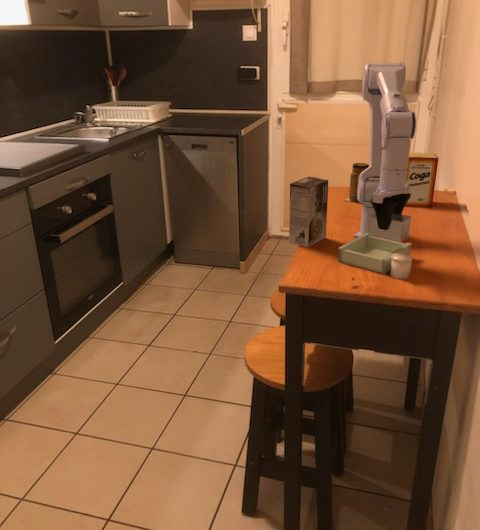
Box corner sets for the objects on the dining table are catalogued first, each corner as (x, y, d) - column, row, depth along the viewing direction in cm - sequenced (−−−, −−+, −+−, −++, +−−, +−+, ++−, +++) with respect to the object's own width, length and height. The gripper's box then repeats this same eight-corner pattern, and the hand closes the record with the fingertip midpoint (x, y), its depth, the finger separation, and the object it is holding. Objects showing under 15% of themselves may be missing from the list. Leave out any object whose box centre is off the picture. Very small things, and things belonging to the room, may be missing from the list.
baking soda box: (428, 201, 167) (435, 152, 161) (431, 207, 161) (438, 156, 155) (399, 200, 169) (404, 152, 163) (400, 206, 163) (406, 156, 157)
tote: (364, 245, 131) (365, 232, 130) (410, 257, 124) (411, 243, 122) (337, 261, 122) (338, 247, 120) (384, 274, 114) (386, 260, 113)
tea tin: (379, 230, 123) (380, 210, 121) (408, 236, 118) (411, 216, 116) (369, 235, 119) (371, 215, 117) (400, 242, 115) (402, 221, 113)
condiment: (354, 195, 175) (357, 161, 170) (377, 200, 170) (380, 164, 165) (343, 200, 170) (345, 164, 165) (366, 204, 165) (369, 168, 160)
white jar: (394, 269, 117) (396, 251, 115) (413, 274, 114) (416, 256, 113) (385, 275, 114) (387, 257, 112) (405, 281, 111) (407, 262, 109)
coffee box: (306, 233, 141) (308, 176, 134) (326, 238, 137) (329, 179, 131) (287, 242, 134) (288, 182, 128) (308, 248, 131) (310, 186, 124)
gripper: (396, 176, 105) (390, 238, 111) (424, 164, 115) (417, 221, 121) (366, 172, 110) (361, 231, 115) (395, 160, 120) (389, 215, 125)
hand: (388, 226), depth 118 cm, fingers closed on tea tin, 5 cm apart
